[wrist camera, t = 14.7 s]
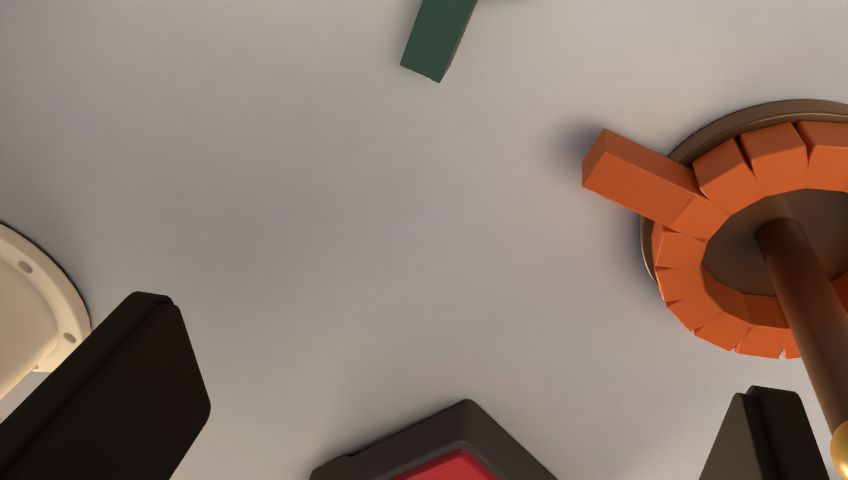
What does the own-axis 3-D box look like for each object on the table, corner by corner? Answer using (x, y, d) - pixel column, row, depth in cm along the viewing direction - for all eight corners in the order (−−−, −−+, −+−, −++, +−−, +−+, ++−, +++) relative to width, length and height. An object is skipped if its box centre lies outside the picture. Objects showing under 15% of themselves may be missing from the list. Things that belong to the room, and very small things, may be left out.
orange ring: (998, 192, 20) (1033, 223, 19) (799, 355, 26) (813, 390, 24) (664, 32, 20) (671, 50, 18) (536, 233, 25) (532, 260, 24)
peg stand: (593, 254, 27) (593, 502, 17) (744, 51, 21) (878, 253, 11) (792, 347, 27) (904, 642, 17) (998, 173, 21) (1350, 475, 11)
